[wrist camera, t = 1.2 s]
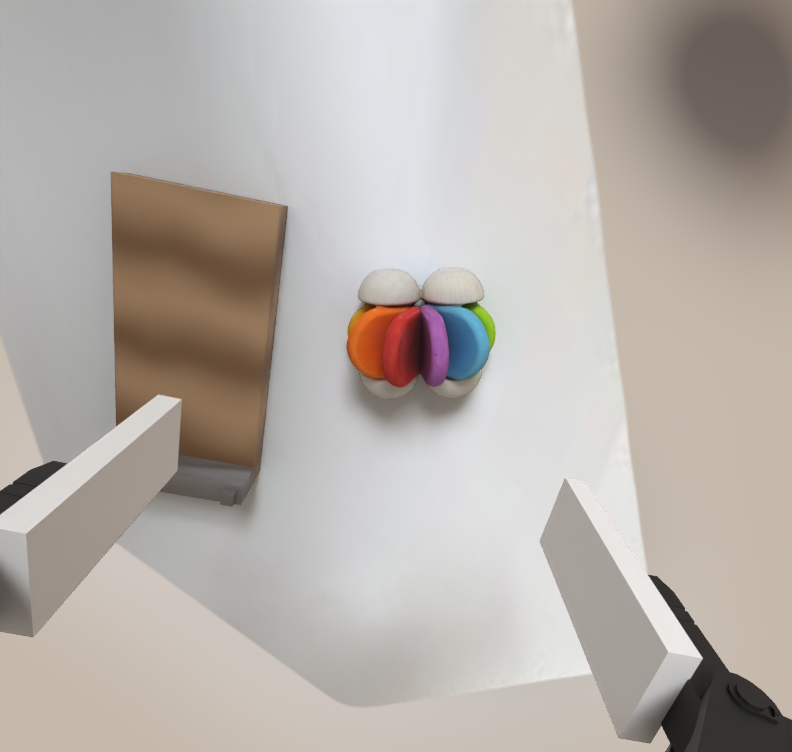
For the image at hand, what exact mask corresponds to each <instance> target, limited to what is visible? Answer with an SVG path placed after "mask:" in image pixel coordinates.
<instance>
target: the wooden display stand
mask: <svg viewBox="0 0 792 752" xmlns="http://www.w3.org/2000/svg"><path fill="white" fill-rule="evenodd" d="M111 205H112V251H113V297H114V343H115V389H116V426H118V425H119V424H120V423H122V422H123V421H124V420H126V419H127V418H128V417H129V416H131V415H132V414H133V413H135V412H136V411H137V410H139V409H140V408H141V407H143V406H144V405H145V404H147V403H148V402H149V401H150V400H152V399H153V398H154V397H156V396H157V395H158V394H159V395H163V396H168V397H173V398H178V399H182V406H181V422H180V438H179V453H178V469H177V472H176V473H175V474H174V475H173V476H172V477H171V479H170V480H169V481H168V482H167V483H166V484H165V486H164V487H163V488H162V489H161V490H160V491H162V492H167V493H173V494H179V495H185V496H191V497H197V498H202V499H208V500H214V501H220V502H221V503H220V504H222V505H228V506H233V504H238V505H241V504H242V502H243V500H244V498H245V497H246V495H247V493H248V491H249V489H250V487H251V485H252V483H253V482H254V480H255V478H256V476H257V474H258V472H259V470H260V462H261V453H262V443H263V434H264V424H265V415H266V405H267V396H268V387H269V377H270V368H271V358H272V349H273V339H274V330H275V320H276V311H277V302H278V292H279V283H280V273H281V264H282V254H283V245H284V235H285V226H286V217H287V207H288V206H284V205H279V204H274V203H270V202H265V201H260V200H255V199H250V198H245V197H241V196H236V195H231V194H226V193H221V192H216V191H212V190H207V189H202V188H197V187H192V186H187V185H183V184H178V183H173V182H168V181H163V180H158V179H154V178H149V177H144V176H139V175H134V174H129V173H119V172H111Z"/></svg>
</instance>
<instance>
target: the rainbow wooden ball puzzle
mask: <svg viewBox="0 0 792 752" xmlns="http://www.w3.org/2000/svg"><path fill="white" fill-rule="evenodd" d="M358 298H359V300H360V301H362V302H364V303H368V304H365V306H363V307H362V308H360V309H359V310H358V311H357V312H356V313H355V314H354V315H353V317H352V319H351V321H350V323H349V326H348V341H347V352H348V355H349V358H350V360H351V362H352V363H353V365H354V366H355V367H356V368H357V369H358V370H359V371H360V377H361V380H362V382H363V384H364V386H365V387H366V388H367V389H368V391H369V392H371V393H372V394H374V395H375V396H377V397H380V398H384V399H394V398H398V397H401V396H403V395H405V394H406V393H408V392H409V391H410V390H411V389H412V388H413V386H414V385H415V383H416V381H417V378H418V374H420V373H421V375H422V376H423V378H424V381H425V382H426V384H427V386H428V387H429V388H430V389H431V390H432V391H433V392H434V393H436V394H438V395H440V396H442V397H447V398H458V397H461V396H464V395H466V394H468V393H469V392H471V391H472V390H473V389H474V388H475V387H476V386H477V384H478V383H479V380H480V378H481V375H482V368H483V366H484V365H485V363H486V361H487V359H488V356H489V352H490V350H491V348H492V347H493V344H494V341H495V325H494V322H493V320H492V317H491V316H490V315H489V313H488V312H487V311H486V310H485V309H484V308H483V307H481V306H480V305H478V303H477V302H478V301H480V300H482V299H483V298H484V290H483V287H482V284H481V282H480V280H479V279H478V278H477V277H476V275H475V274H473V273H472V272H471V271H469V270H468V269H464V268H442V269H438V270H436V271H435V272H434V273H432V274H431V275H430V276H429V277H428V278H427V280H426V281H425V283H424V285H423V288H422V290H420V289H419V287H418V285H417V283H416V281H415V280H414V278H413V277H412V276H411V275H410V274H409V273H407V272H406V271H404V270H400V269H379V270H375V271H373V272H372V273H370V274H369V275H368V276H367V277H366V278H365V279H364V281H363V282H362V284H361V286H360V289H359V292H358ZM420 299H422V300H425V301H426V302H427V305H422V306H420V307H416V306H414V304H415V303H416V302H418V301H419V300H420Z"/></svg>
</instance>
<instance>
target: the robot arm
mask: <svg viewBox="0 0 792 752" xmlns="http://www.w3.org/2000/svg"><path fill="white" fill-rule="evenodd" d="M181 406H182V399H178V398H173V397H168V396H163V395H159V394H158V395H157V396H156V397H154V398H153V399H152V400H150V401H149V402H148V403H147V404H145V405H144V406H143V407H141V408H140V409H139V410H137V411H136V412H135V413H133V414H132V415H131V416H129V417H128V418H127V419H126V420H124V421H123V422H122V423H120V424H119V425H118V426H116V427H115V428H114V429H112V430H111V431H110V432H108V433H107V434H106V435H104V436H103V437H102V438H101V439H99V440H98V441H97V442H95V443H94V444H93V445H91V446H90V447H89V448H87V449H86V450H85V451H83V452H82V453H81V454H79V455H78V456H77V457H76V458H74V459H73V460H72V461H70V462H69V463H68V464H67V463H62V462H57V461H52V462H49V463H47V464H44V465H42V466H39V467H36V468H34V469H31V470H30V471H28V472H27V473H25V474H24V475H22V476H21V477H20V478H18V479H17V480H15V481H14V482H13V484H12V485H8V486H7V487H5V488H4V489H3V490H1V491H0V632H5V633H11V634H17V635H23V636H29V637H34V636H35V635H36V634H37V632H38V631H39V630H40V629H41V628H42V627H43V626H44V624H45V623H46V622H47V621H48V620H49V618H51V616H52V615H53V614H54V613H55V611H57V609H58V608H59V607H60V606H61V605H62V604H63V602H64V601H65V600H66V599H67V598H68V597H69V596H70V594H71V593H72V592H73V591H74V590H75V589H76V587H77V586H78V585H79V584H80V582H81V581H82V580H83V579H84V578H85V577H86V576H87V575H88V573H89V572H90V571H91V570H92V569H93V568H94V566H95V565H96V564H97V563H98V562H99V561H100V560H101V558H102V557H103V556H104V555H105V554H106V553H107V551H108V550H109V549H110V548H111V547H112V546H113V545H114V543H115V542H116V541H117V540H118V539H119V538H120V536H121V535H122V534H123V533H124V532H125V531H126V530H127V528H128V527H129V526H130V525H131V524H132V523H133V521H134V520H135V519H136V518H137V517H138V516H139V514H140V513H141V512H142V511H143V510H144V509H145V508H146V506H147V505H148V504H149V503H150V502H151V501H152V499H153V498H154V497H155V496H156V495H157V494H158V492H159V491H160V490H161V489H162V488H163V487H164V486H165V484H166V483H167V482H168V481H169V480H170V479H171V477H172V476H173V475H174V474H175V473H176V472H177V469H178V453H179V438H180V422H181ZM540 543H541V546H542V548H543V551H544V553H545V556H546V558H547V561H548V563H549V566H550V568H551V571H552V573H553V576H554V578H555V581H556V583H557V586H558V588H559V591H560V593H561V596H562V598H563V601H564V603H565V606H566V608H567V611H568V613H569V616H570V618H571V621H572V623H573V626H574V628H575V631H576V633H577V636H578V638H579V641H580V643H581V646H582V648H583V651H584V653H585V656H586V658H587V661H588V663H589V666H590V668H591V671H592V673H593V676H594V678H595V680H596V683H597V685H598V688H599V690H600V693H601V695H602V698H603V700H604V703H605V705H606V708H607V710H608V713H609V715H610V718H611V720H612V723H613V725H614V728H615V730H616V733H617V735H618V738H621V739H627V740H633V741H639V742H645V743H651V741H652V740H653V738H654V737H655V735H656V733H657V732H658V730H659V728H660V727H661V725H662V727H663V729H664V731H665V733H666V735H667V737H668V739H669V741H670V745H669V747H668V748H667V750H666V751H665V752H792V720H791V719H788V718H786V717H784V716H782V714H781V712H780V711H779V709H778V708H777V706H776V705H775V703H774V702H773V701H772V700H771V699H770V698H769V697H768V696H767V695H766V694H765V693H764V692H763V691H762V690H761V689H759V688H758V687H757V686H755V685H754V684H753V683H751V682H750V681H748V680H747V679H744V678H743V677H741V676H739V675H737V674H734V673H730V672H729V671H728V669H727V668H726V666H725V665H724V664H723V662H722V661H721V659H720V658H719V656H718V655H717V654H716V652H715V651H714V649H713V648H712V646H711V645H710V643H709V642H708V641H707V639H706V638H705V637H704V635H703V633H702V632H701V631H700V629H699V628H698V626H697V625H695V624H694V621H693V619H692V618H691V616H690V615H689V613H688V612H687V611H685V608H684V606H683V605H682V603H681V602H680V600H679V599H678V598H677V596H676V595H675V594H674V592H673V591H672V590H671V589H670V588H669V587H668V586H667V585H666V584H664V583H663V582H662V581H661V580H660V579H659V578H658V577H657V576H652V575H648V574H647V573H646V571H645V570H644V568H643V567H642V565H641V564H640V562H639V561H638V559H637V558H636V556H635V555H634V553H633V552H632V550H631V549H630V547H629V545H628V544H627V542H626V541H625V539H624V538H623V536H622V535H621V533H620V532H619V530H618V529H617V527H616V526H615V524H614V523H613V521H612V520H611V518H610V517H609V515H608V514H607V512H606V511H605V509H604V508H603V506H602V504H601V503H600V501H599V500H598V498H597V497H596V495H595V494H594V492H593V491H592V489H591V488H590V486H589V485H588V483H587V482H585V481H580V480H575V479H571V478H566V477H565V479H564V482H563V484H562V487H561V489H560V492H559V494H558V497H557V499H556V502H555V504H554V507H553V509H552V512H551V514H550V517H549V519H548V522H547V524H546V527H545V529H544V532H543V534H542V537H541V539H540Z"/></svg>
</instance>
